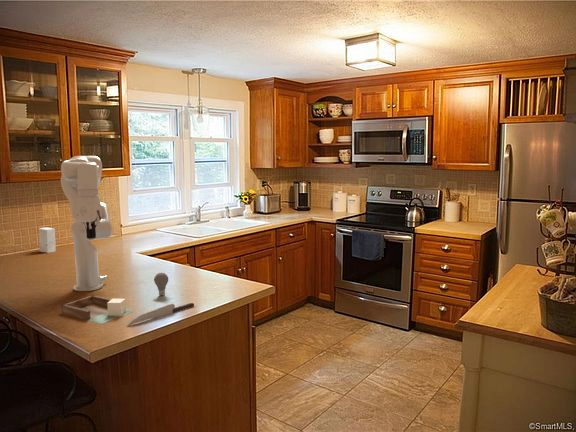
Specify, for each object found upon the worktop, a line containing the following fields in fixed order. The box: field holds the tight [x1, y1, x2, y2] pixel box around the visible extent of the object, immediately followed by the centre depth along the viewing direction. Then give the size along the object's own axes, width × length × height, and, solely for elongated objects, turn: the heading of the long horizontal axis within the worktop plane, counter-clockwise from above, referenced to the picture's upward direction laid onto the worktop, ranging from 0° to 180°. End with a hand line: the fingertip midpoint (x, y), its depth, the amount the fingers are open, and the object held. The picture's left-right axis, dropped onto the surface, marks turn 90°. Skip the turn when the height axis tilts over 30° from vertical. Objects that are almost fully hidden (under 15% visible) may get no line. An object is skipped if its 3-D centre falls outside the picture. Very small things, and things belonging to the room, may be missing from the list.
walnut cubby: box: [60, 295, 135, 325], centre depth 182 cm, size 16×23×4 cm
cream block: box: [107, 298, 127, 317], centre depth 180 cm, size 5×5×5 cm
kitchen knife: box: [125, 302, 195, 328], centre depth 180 cm, size 4×1×30 cm
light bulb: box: [153, 272, 169, 296], centre depth 205 cm, size 6×6×10 cm
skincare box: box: [38, 227, 57, 254], centre depth 295 cm, size 8×6×15 cm
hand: (91, 238), depth 194 cm, fingers closed
